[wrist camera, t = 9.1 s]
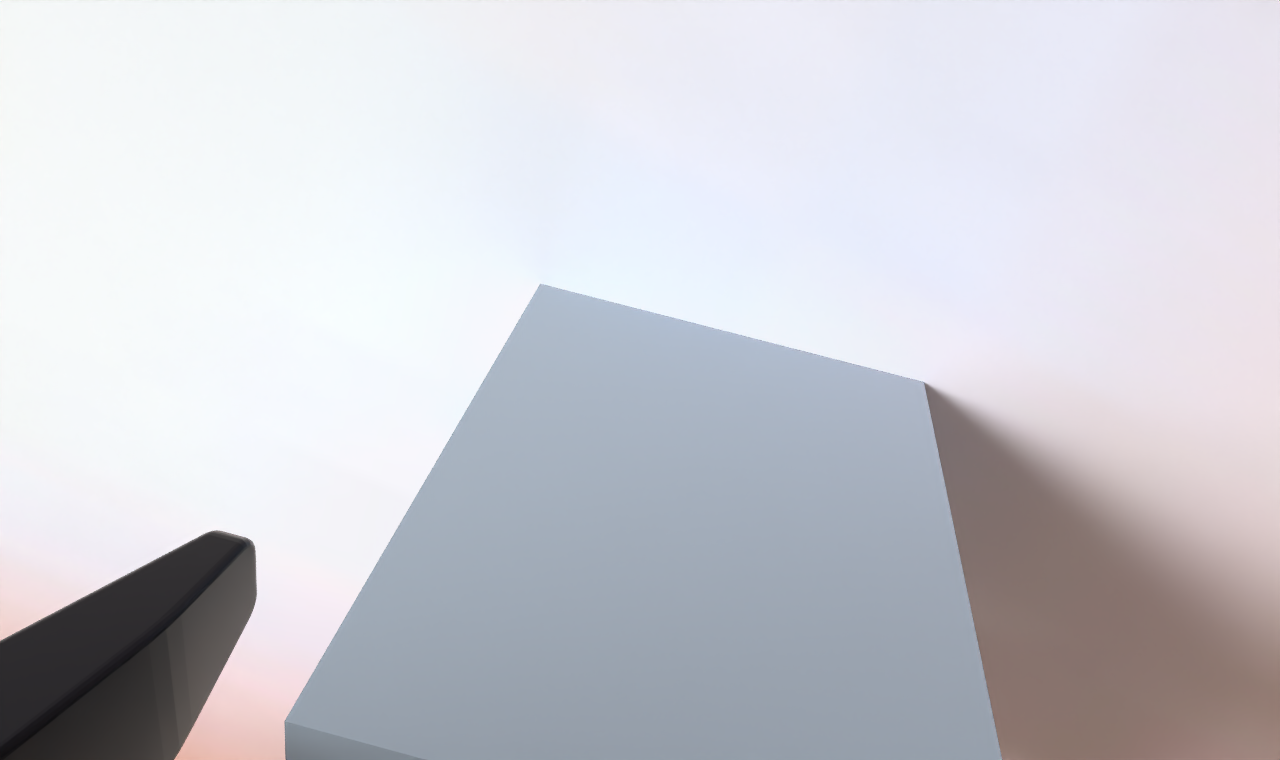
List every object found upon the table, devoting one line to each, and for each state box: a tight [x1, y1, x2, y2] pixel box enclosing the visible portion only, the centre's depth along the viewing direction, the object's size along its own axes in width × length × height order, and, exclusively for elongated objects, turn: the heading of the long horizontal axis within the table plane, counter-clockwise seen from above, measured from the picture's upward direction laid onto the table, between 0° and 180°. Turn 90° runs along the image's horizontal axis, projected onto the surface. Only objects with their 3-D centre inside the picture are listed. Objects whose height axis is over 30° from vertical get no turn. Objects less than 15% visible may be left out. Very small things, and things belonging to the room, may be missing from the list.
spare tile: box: [285, 284, 1002, 760], centre depth 11 cm, size 2×6×8 cm, turn 79°
